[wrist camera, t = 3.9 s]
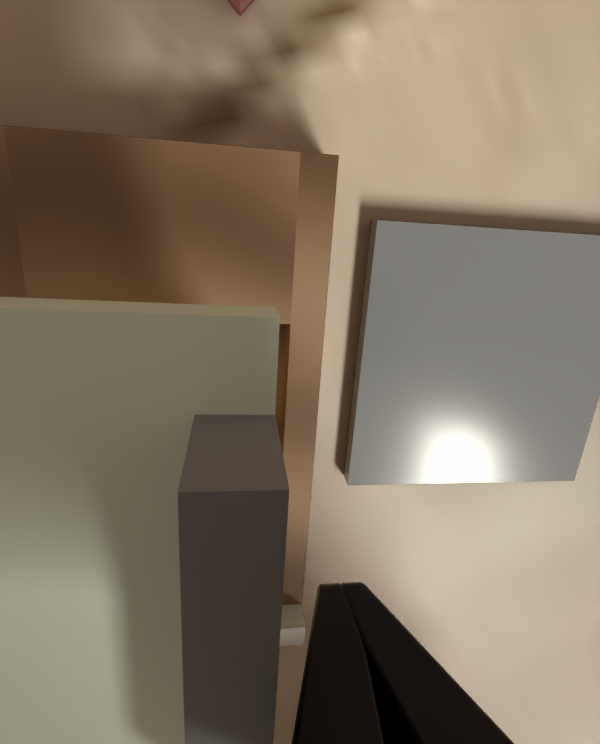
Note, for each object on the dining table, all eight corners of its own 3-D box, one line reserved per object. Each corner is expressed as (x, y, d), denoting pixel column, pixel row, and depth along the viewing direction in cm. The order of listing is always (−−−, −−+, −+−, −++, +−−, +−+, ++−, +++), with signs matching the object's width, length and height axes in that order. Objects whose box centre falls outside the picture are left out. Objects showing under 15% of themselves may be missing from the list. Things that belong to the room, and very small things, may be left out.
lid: (249, 591, 16) (259, 948, 8) (-34, 606, 14) (-345, 1051, 7) (260, 270, 12) (297, 359, 4) (-115, 251, 11) (-970, 333, 3)
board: (295, 594, 18) (303, 651, 16) (-186, 621, 16) (-262, 693, 13) (327, 162, 13) (347, 149, 11) (-380, 100, 10) (-557, 67, 8)
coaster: (563, 472, 18) (574, 480, 17) (343, 476, 16) (347, 485, 16) (630, 237, 15) (646, 238, 14) (371, 220, 14) (377, 220, 13)
